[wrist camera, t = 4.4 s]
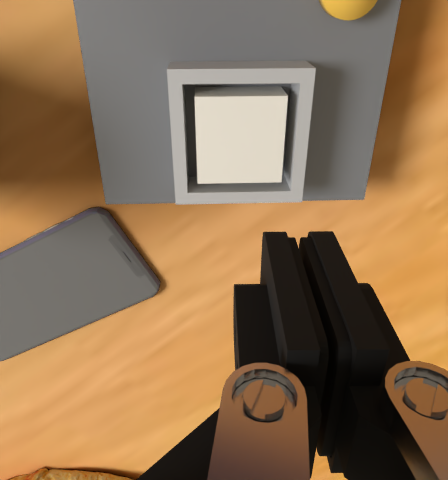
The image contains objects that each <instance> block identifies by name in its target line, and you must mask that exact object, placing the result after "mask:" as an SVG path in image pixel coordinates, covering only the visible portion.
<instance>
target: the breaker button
mask: <svg viewBox="0 0 448 480" xmlns="http://www.w3.org/2000/svg"><path fill="white" fill-rule="evenodd" d="M194 98H195V126H196V154H197V182H198V184H212V183H272V182H282V169H283V155H284V142H285V129H286V115H287V102H288V95H287V94H286V93H285V91H284V90H283V89H282V87H281V86H252V87H195V96H194Z"/></svg>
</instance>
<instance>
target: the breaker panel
mask: <svg viewBox="0 0 448 480" xmlns="http://www.w3.org/2000/svg"><path fill="white" fill-rule="evenodd" d="M73 2H74V8H75V15H76V21H77V27H78V33H79V40H80V46H81V52H82V58H83V65H84V71H85V77H86V83H87V90H88V96H89V102H90V108H91V115H92V121H93V127H94V133H95V140H96V146H97V152H98V158H99V165H100V171H101V177H102V183H103V190H104V196H105V202H106V204H149V203H176V204H227V203H281V202H302V201H314V200H364V197H365V192H366V187H367V181H368V176H369V171H370V165H371V160H372V155H373V149H374V144H375V139H376V133H377V128H378V122H379V117H380V112H381V106H382V101H383V96H384V90H385V85H386V80H387V74H388V69H389V63H390V58H391V53H392V47H393V42H394V37H395V31H396V26H397V21H398V15H399V10H400V5H401V0H73ZM252 86H281V87H282V89H283V90H284V91H285V93H286V94H287V95H288V102H287V115H286V129H285V142H284V155H283V169H282V182H272V183H212V184H198V182H197V154H196V126H195V98H194V96H195V87H252Z"/></svg>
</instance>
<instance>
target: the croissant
mask: <svg viewBox="0 0 448 480" xmlns="http://www.w3.org/2000/svg"><path fill="white" fill-rule="evenodd" d="M9 480H132V479H129V478H127V477H121V476H116V475H113V474H109V473H101V472H100V473H99V472H88V471H79V470H71V471H70V470H61V469H50V470H47V469H46V468H43V469H39V470H37V471H36V472H35V473H33V474H26V475H20V476H17V477H14V478H12V479H9Z"/></svg>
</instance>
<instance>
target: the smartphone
mask: <svg viewBox="0 0 448 480" xmlns="http://www.w3.org/2000/svg"><path fill="white" fill-rule="evenodd" d="M159 287H160V281H159V279H158V278H157V276H156V275H155V274H154V272H153V271H152V270H151V268H150V267H149V266H148V264H147V263H146V262H145V260H144V259H143V258H142V256H141V255H140V254H139V252H138V251H137V249H136V248H135V247H134V245H133V244H132V243H131V241H130V240H129V239H128V237H127V236H126V235H125V233H124V232H123V231H122V229H121V228H120V227H119V225H118V224H117V223H116V221H115V220H114V218H113V217H112V216H111V214H110V213H109V212H108V211H106V210H104V209H102V208H101V207H95V208H89V209H87V210H85V211H83V212H81V213H79V214H77V215H75V216H73V217H71V218H69V219H67V220H65V221H63V222H61V223H58V224H56V225H54V226H52V227H50V228H48V229H46V230H45V231H43V232H41V233H38V234H36V235H34V236H32V237H30V238H28V239H26V240H25V241H23V242H21V243H19V244H17V245H15V246H13V247H11V248H9V249H7V250H5V251H3V252H1V253H0V361H4V360H6V359H8V358H11V357H13V356H15V355H18V354H20V353H22V352H25V351H27V350H29V349H32V348H34V347H36V346H39V345H41V344H43V343H46V342H48V341H50V340H53V339H55V338H57V337H60V336H62V335H64V334H67V333H69V332H71V331H74V330H76V329H78V328H81V327H83V326H85V325H88V324H90V323H92V322H95V321H97V320H99V319H102V318H104V317H106V316H109V315H111V314H113V313H116V312H118V311H120V310H123V309H125V308H127V307H130V306H132V305H134V304H137V303H139V302H141V301H144V300H146V299H148V298H151V297H153V296H154V295H155V294H156V293H157V292H158V291H159Z"/></svg>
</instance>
